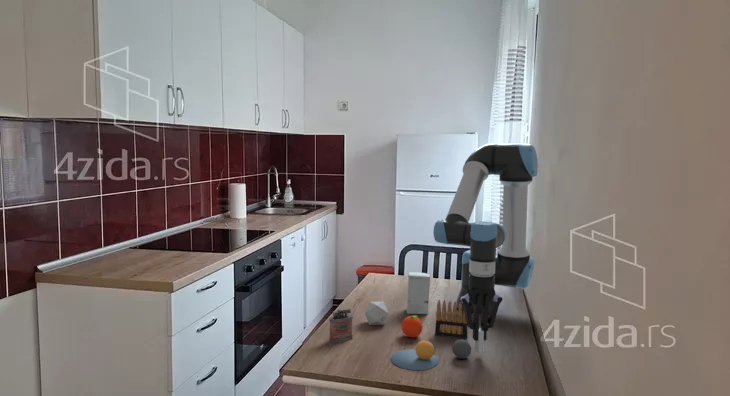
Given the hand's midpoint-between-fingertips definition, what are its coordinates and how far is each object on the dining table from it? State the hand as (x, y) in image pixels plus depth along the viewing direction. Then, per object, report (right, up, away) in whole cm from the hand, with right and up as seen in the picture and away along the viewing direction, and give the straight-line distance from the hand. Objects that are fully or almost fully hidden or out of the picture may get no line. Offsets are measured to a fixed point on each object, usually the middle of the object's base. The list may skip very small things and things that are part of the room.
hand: (478, 350), depth 150 cm
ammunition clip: (-6, 0, +17) cm, 17 cm away
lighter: (-42, 0, +12) cm, 44 cm away
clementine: (-19, 0, +16) cm, 24 cm away
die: (-30, +1, +27) cm, 41 cm away
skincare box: (-14, +2, +40) cm, 43 cm away
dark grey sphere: (-5, +1, -1) cm, 6 cm away
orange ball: (-17, +1, -3) cm, 17 cm away
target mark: (-20, -2, -3) cm, 20 cm away
